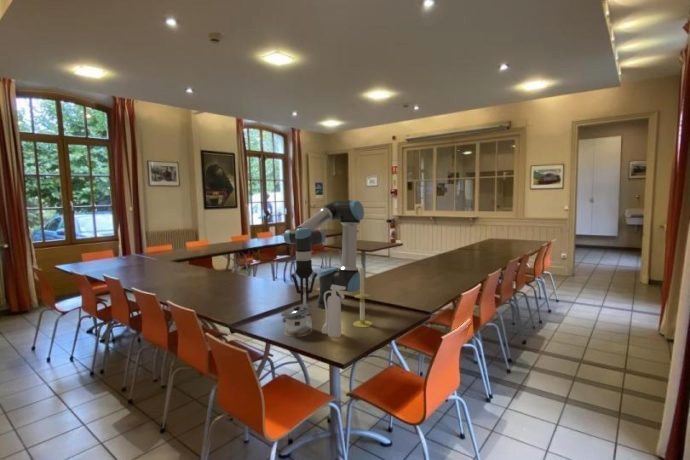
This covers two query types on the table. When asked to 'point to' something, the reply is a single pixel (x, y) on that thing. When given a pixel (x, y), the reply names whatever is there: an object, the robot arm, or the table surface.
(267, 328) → the table surface
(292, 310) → the lid
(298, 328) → the pot
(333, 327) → the white extinguisher
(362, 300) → the candle
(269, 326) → the table surface
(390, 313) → the table surface
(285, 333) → the trivet
